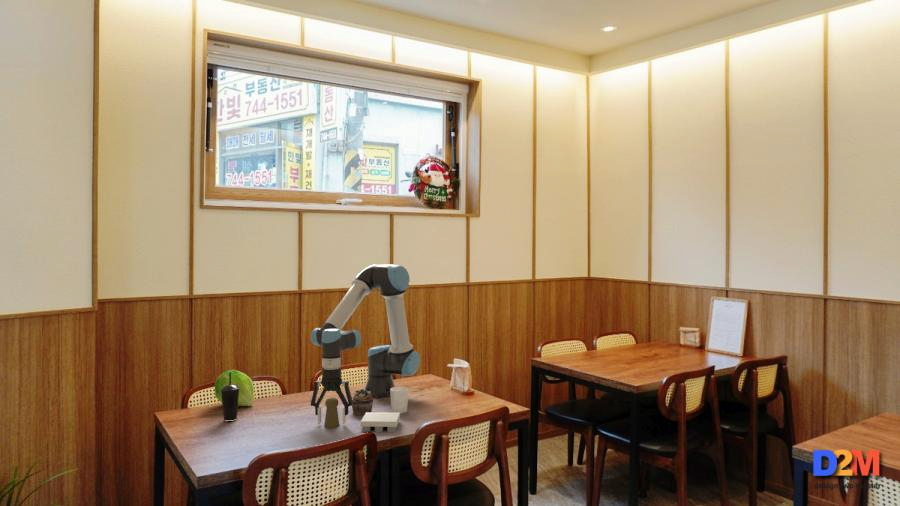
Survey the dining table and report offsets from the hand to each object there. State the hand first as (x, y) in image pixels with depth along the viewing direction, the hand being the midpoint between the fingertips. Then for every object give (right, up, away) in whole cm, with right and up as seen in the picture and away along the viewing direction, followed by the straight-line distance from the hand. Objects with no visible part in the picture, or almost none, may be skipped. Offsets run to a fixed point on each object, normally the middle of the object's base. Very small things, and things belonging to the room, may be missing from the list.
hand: (331, 422), depth 232 cm
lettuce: (-50, -1, +30) cm, 58 cm away
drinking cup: (-44, -1, +7) cm, 44 cm away
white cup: (+26, -1, +19) cm, 32 cm away
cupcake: (+9, -1, +18) cm, 20 cm away
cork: (0, -1, 0) cm, 1 cm away
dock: (+20, -1, -2) cm, 20 cm away
